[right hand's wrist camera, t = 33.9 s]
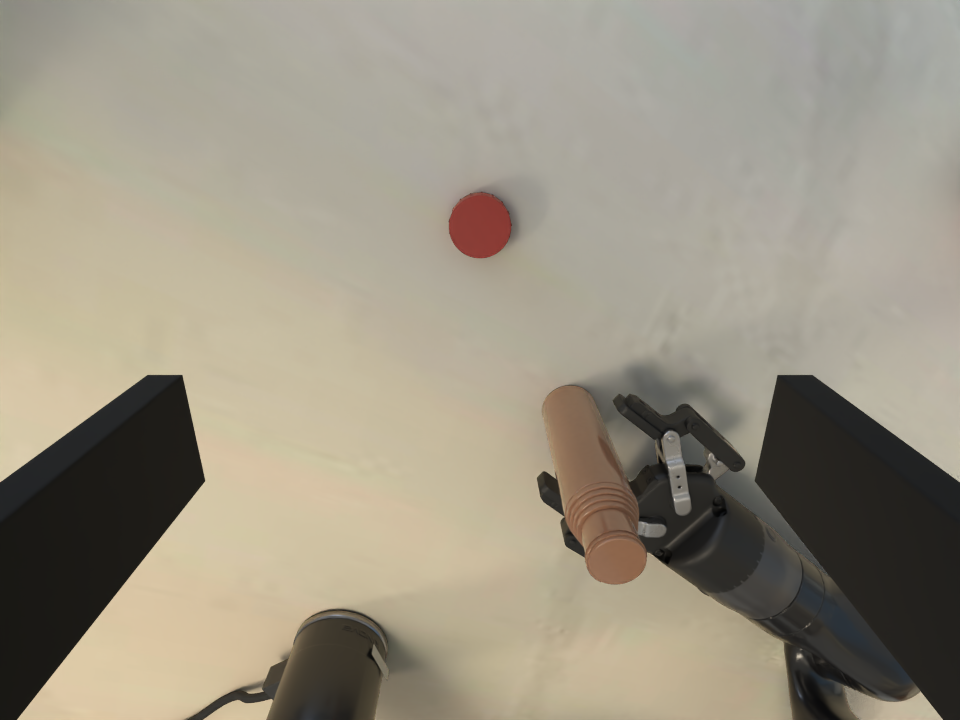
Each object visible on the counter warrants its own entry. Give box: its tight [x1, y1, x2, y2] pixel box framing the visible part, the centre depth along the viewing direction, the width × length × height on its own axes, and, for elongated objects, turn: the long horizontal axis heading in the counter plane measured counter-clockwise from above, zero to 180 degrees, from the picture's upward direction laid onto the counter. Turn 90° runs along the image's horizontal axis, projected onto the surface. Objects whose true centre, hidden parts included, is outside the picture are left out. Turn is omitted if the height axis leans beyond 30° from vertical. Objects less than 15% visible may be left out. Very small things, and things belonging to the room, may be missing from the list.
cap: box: [449, 192, 512, 258], centre depth 41 cm, size 4×4×2 cm
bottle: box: [542, 385, 647, 584], centre depth 39 cm, size 4×4×18 cm
